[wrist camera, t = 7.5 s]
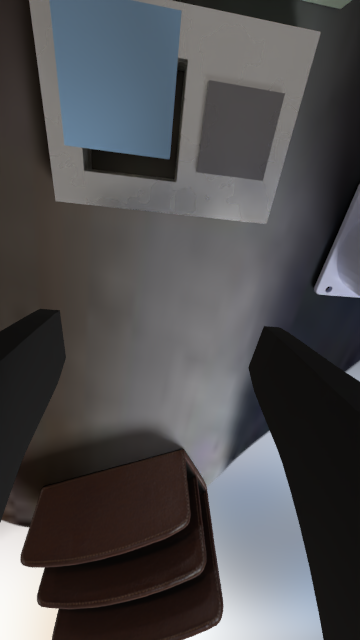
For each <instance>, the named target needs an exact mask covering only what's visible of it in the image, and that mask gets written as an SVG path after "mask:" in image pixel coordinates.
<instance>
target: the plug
mask: <svg viewBox="0 0 360 640" xmlns="http://www.w3.org/2000/svg"><path fill="white" fill-rule="evenodd" d="M49 2H50V11H51V21H52V30H53V40H54V49H55V59H56V69H57V78H58V88H59V97H60V107H61V116H62V126H63V136H64V145H66V146H74V147H81V148H88V149H96V150H103V151H111V152H118V153H126V154H133V155H140V156H148V157H155V158H163V159H170V151H171V138H172V125H173V113H174V100H175V88H176V75H177V63H178V50H179V38H180V25H181V13H182V11H181V10H177V9H172V8H167V7H162V6H157V5H153V4H148V3H143V2H138V1H133V0H49Z"/></svg>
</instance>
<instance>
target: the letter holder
mask: <svg viewBox="0 0 360 640" xmlns="http://www.w3.org/2000/svg"><path fill="white" fill-rule="evenodd" d="M21 563H22V564H23V565H25V566H28V567H45V569H44V573H43V576H42V579H41V583H40V586H39V590H38V594H37V602H38V604H39V605H40V606H41V607H47V608H59V610H58V614H57V618H56V622H55V627H54V631H53V636H52V640H183V639H186V638H189V637H192V636H194V635H196V634H199V633H201V632H203V631H206V630H208V629H210V628H212V627H214V626H216V625H217V624H218V623H219V622H220V620H221V618H222V613H223V598H222V591H221V584H220V578H219V571H218V565H217V558H216V551H215V545H214V538H213V530H212V523H211V516H210V509H209V502H208V494H207V487H206V484H205V482H204V480H203V479H202V477H201V475H200V474H199V472H198V471H197V469H196V468H195V466H194V464H193V463H192V461H191V460H190V458H189V456H188V455H187V453H186V452H185V450H184V449H181V450H178V451H174V452H171V453H166V454H163V455H159V456H155V457H152V458H148V459H144V460H141V461H137V462H133V463H129V464H126V465H122V466H118V467H115V468H111V469H107V470H104V471H100V472H97V473H93V474H89V475H85V476H82V477H78V478H75V479H71V480H67V481H63V482H60V483H56V484H52V485H48V486H45V487H43V488H42V489H41V492H40V496H39V499H38V503H37V506H36V509H35V512H34V515H33V518H32V521H31V524H30V528H29V531H28V534H27V537H26V540H25V543H24V547H23V550H22V553H21Z"/></svg>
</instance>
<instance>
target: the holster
mask: <svg viewBox="0 0 360 640" xmlns="http://www.w3.org/2000/svg"><path fill="white" fill-rule="evenodd" d="M302 1H307V2H311V3H315V4H320V5H324V6H329V7H333V8H337V9H342V8H343V7H344V6H345V5H347V4H348V3H349V2H350V1H352V0H302Z"/></svg>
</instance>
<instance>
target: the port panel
mask: <svg viewBox="0 0 360 640" xmlns="http://www.w3.org/2000/svg"><path fill="white" fill-rule="evenodd" d="M133 1H138V2H143V3H148V4H153V5H157V6H162V7H167V8H172V9H177V10H181V11H182V13H181V25H180V38H179V50H178V63H177V70H179V71H184V79H183V90H182V101H181V112H180V123H179V134H178V145H177V156H176V167H175V178H174V179H169V178H161V177H153V176H145V175H137V174H129V173H121V172H113V171H105V170H97V169H92V158H91V149H88V148H81V147H74V146H66V145H64V136H63V126H62V116H61V107H60V97H59V88H58V78H57V69H56V59H55V49H54V40H53V30H52V21H51V11H50V2H49V0H29V3H30V11H31V18H32V26H33V33H34V41H35V49H36V56H37V64H38V71H39V79H40V86H41V94H42V101H43V109H44V116H45V124H46V132H47V139H48V147H49V154H50V162H51V169H52V177H53V184H54V192H55V200H56V201H59V202H68V203H78V204H87V205H96V206H105V207H115V208H124V209H133V210H142V211H152V212H161V213H170V214H179V215H189V216H198V217H207V218H216V219H225V220H235V221H244V222H253V223H262V224H267V220H268V217H269V213H270V210H271V206H272V203H273V199H274V196H275V192H276V189H277V185H278V181H279V178H280V174H281V171H282V167H283V164H284V160H285V157H286V153H287V150H288V146H289V143H290V139H291V136H292V132H293V129H294V125H295V122H296V118H297V115H298V111H299V108H300V104H301V100H302V97H303V93H304V90H305V86H306V83H307V79H308V76H309V72H310V69H311V65H312V62H313V58H314V55H315V51H316V48H317V44H318V41H319V37H320V34H321V32H319V31H314V30H309V29H305V28H300V27H295V26H291V25H286V24H281V23H276V22H272V21H267V20H262V19H258V18H253V17H248V16H243V15H239V14H234V13H229V12H225V11H220V10H215V9H210V8H206V7H201V6H196V5H192V4H187V3H182V2H177V1H173V0H133Z"/></svg>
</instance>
